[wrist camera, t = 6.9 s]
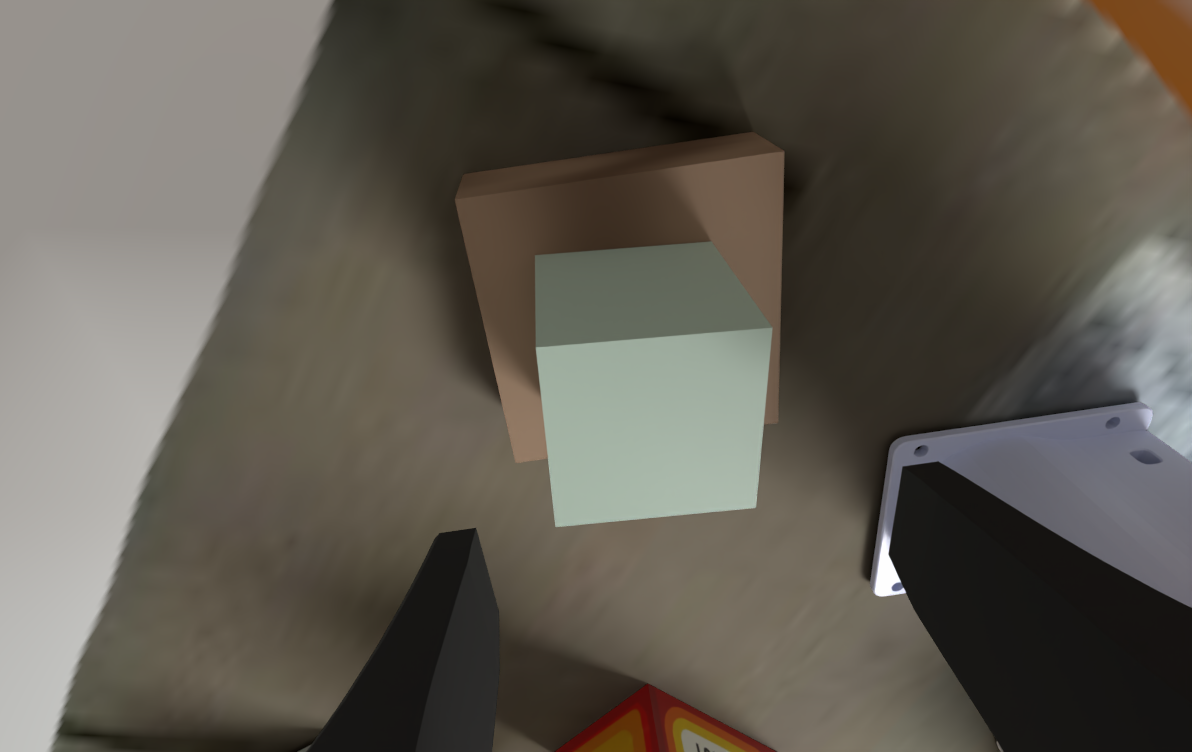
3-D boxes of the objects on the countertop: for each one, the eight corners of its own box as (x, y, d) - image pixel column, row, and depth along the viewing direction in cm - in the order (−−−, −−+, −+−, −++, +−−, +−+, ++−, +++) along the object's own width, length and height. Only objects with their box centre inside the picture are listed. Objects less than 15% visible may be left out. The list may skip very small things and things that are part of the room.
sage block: (711, 241, 17) (772, 327, 13) (705, 391, 19) (755, 507, 15) (534, 255, 17) (535, 347, 12) (550, 405, 19) (555, 527, 15)
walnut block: (748, 128, 19) (784, 151, 16) (749, 373, 23) (778, 422, 20) (464, 170, 18) (454, 199, 16) (516, 408, 22) (515, 463, 20)
